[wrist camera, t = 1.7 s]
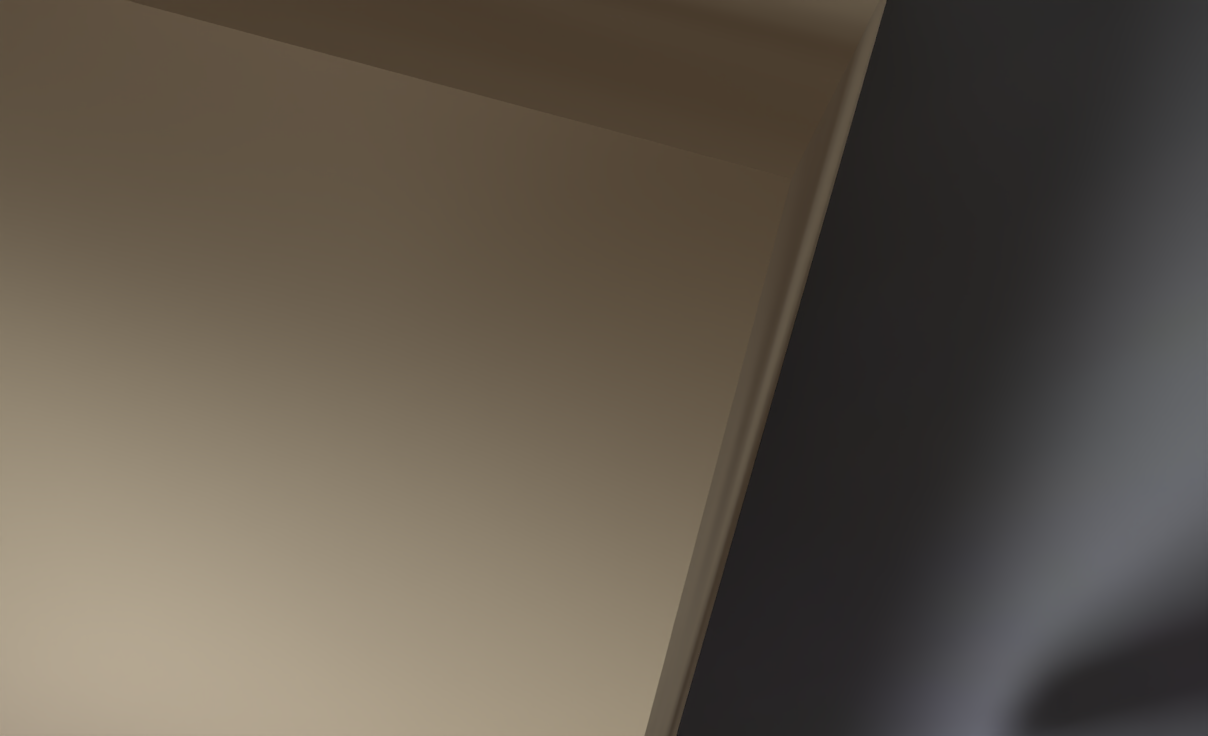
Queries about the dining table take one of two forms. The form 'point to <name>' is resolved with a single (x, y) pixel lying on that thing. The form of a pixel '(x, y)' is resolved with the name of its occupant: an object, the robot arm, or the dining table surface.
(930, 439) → the dining table surface
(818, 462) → the dining table surface
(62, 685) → the batten
